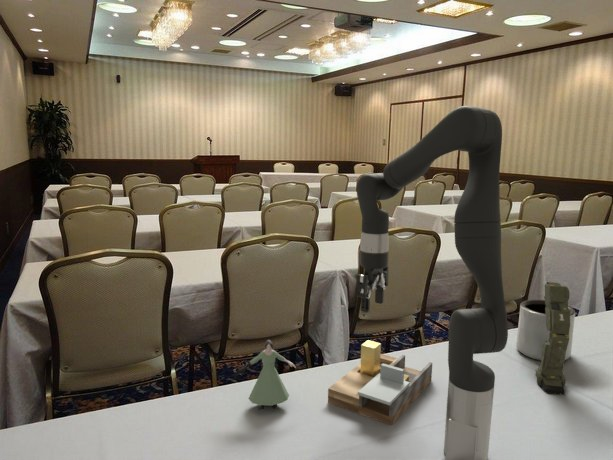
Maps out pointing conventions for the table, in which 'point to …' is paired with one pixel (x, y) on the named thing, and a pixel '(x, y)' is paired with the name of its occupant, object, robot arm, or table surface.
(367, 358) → the pin
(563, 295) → the mechanical leg
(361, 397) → the board
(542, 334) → the planter
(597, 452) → the table surface
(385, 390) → the lid
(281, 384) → the character figurine
